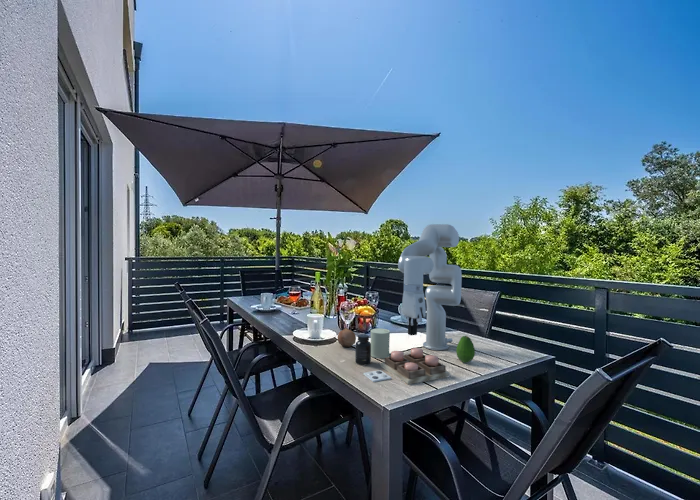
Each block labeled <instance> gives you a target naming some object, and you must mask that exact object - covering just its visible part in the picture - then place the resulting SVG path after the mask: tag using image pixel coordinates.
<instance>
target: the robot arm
mask: <svg viewBox="0 0 700 500" xmlns="http://www.w3.org/2000/svg"><path fill="white" fill-rule="evenodd" d="M459 241H460V235H459V232H458V230H457V229H456V228H455V227H454V226H453V225H451V224H449V223H446V224H445V223H442V224H434V223H432V224H428V225H426V226H425V227H424V228H423V229H422V232H421V234H420V236H419V238H418V241H415V242H413V243H411V244H409V245H408V246H406V247H404V249H403V250H402V252H401V254H400V257H399V259H398V263H397V267H398V270H399V272H401V273H402V274H403V294H402V303H401V312H402V315H403V317H404V318H405V319H406V323H407V335H409V336H417V334H418V325H419V323H422V322H423V319H425V318H426V325H425V326H426V331H425V332H426V333H425V334H426V336H425V338H426V339H425V341H424V342H423V343H422V347H423V348H426V349H428V350H431V351H432V350H433V351H446V350H448V349H449V345H448V343H452V342H453V338H451V337H449V338H447V337H446V325H447V324H446V322H447V313H446V311H445V309H444V307H443V305H444V306H452V307H455V306H459V305H460V303H461V300H462V280H463V278H462V275H463V274H462V268H461V267H460V266H459V265H457V264H447V261H448V259H447V258H448V255H447V253H446V250H445V249H444V248H456V247H457V246H458V245H459ZM424 275H428V277H429V280H430V281H431V282H432V283H437V284H435V285H429V286H427V287H426V289H425V292H424ZM438 284H449V285H451V286H448V285H438Z"/></svg>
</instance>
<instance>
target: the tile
mask: <svg viewBox="0 0 700 500" xmlns="http://www.w3.org/2000/svg"><path fill="white" fill-rule="evenodd" d="M363 376H365V377H366V378H368V379H369V380H370V381H371V382H372V383H376V382H382V381H385V380H391V379H392V377H391V376H390V375H389V374H388V373H385V372H384V371H383V370H381V369H380V370H372V371H367V372H363Z"/></svg>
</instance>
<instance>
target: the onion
mask: <svg viewBox="0 0 700 500" xmlns="http://www.w3.org/2000/svg"><path fill="white" fill-rule="evenodd" d="M356 340H357V336H356V333H355V331H352V330H350V329H349V328H347V327H345V328H343V329H342V330H340V331H339V332H338V334H337V341H338V344H340V346H341V347H343V348H351V347H352V346H353V345H354V344H355V345H356V342H357V341H356Z"/></svg>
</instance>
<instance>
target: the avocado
mask: <svg viewBox="0 0 700 500" xmlns="http://www.w3.org/2000/svg"><path fill="white" fill-rule="evenodd" d="M455 350H456V357H457V358H458V360H459V361H460V362H462V363H466V364H467V363H469V362H472V360H474V358H475V355H476V349H475V345H474V343H473V341H472V339H471V338H470V337H469V336H467V335H463V336H461V337H460V339H459V341H458V342H457V345H456V349H455Z"/></svg>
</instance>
